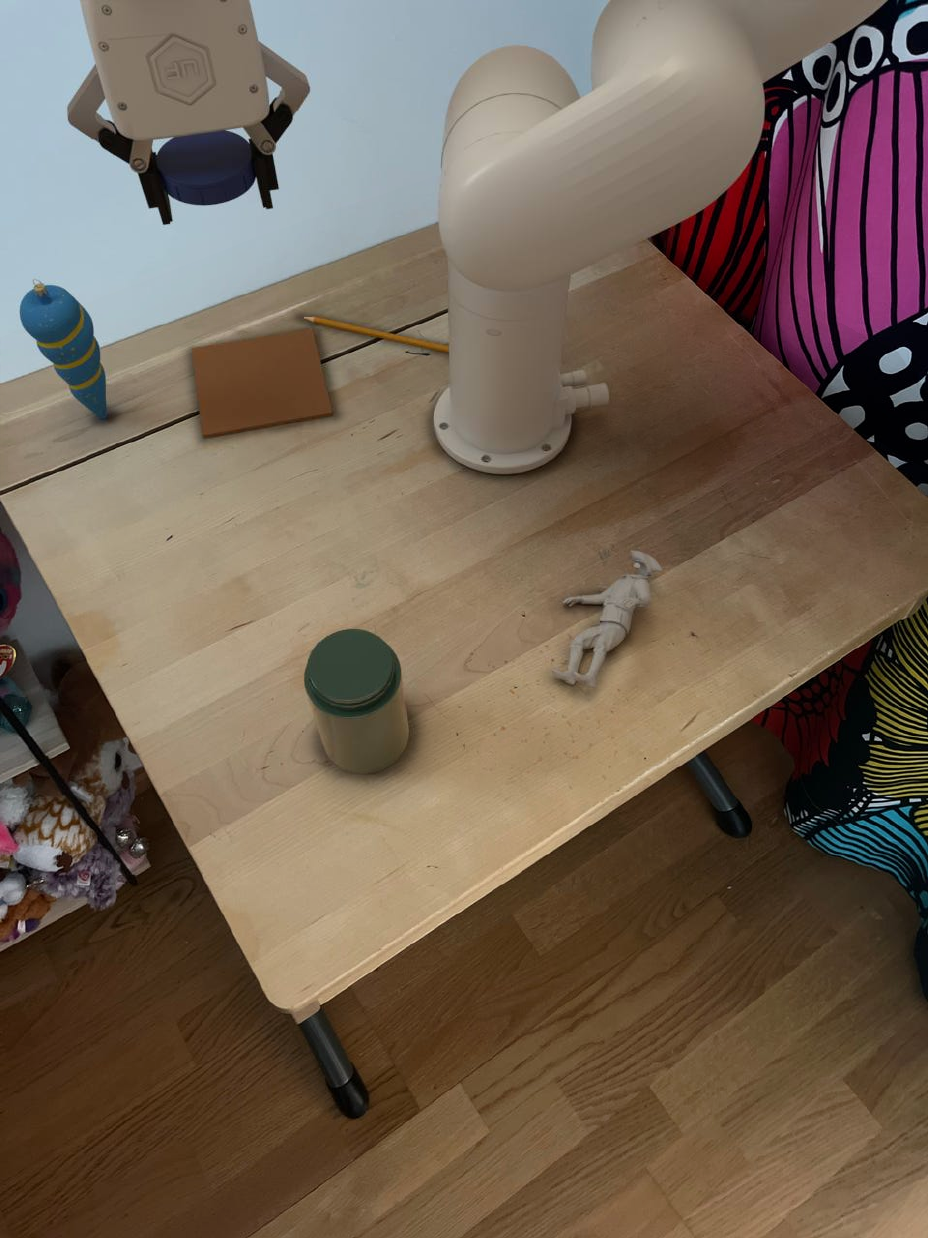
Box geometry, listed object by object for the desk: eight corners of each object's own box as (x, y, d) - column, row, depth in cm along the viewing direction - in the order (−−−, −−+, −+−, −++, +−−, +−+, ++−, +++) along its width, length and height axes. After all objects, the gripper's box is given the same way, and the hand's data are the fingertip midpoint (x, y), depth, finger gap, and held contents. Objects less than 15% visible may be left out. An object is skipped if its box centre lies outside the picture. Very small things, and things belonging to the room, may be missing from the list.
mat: (313, 331, 92) (312, 328, 91) (332, 415, 85) (332, 412, 85) (192, 351, 90) (191, 348, 90) (203, 438, 84) (202, 435, 83)
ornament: (116, 441, 84) (53, 305, 71) (63, 433, 84) (-8, 296, 72) (138, 401, 86) (81, 263, 74) (87, 394, 87) (22, 256, 74)
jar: (399, 687, 70) (389, 613, 61) (417, 763, 66) (409, 695, 58) (315, 706, 69) (293, 633, 60) (330, 783, 65) (308, 718, 57)
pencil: (480, 357, 90) (480, 351, 89) (478, 362, 89) (478, 355, 89) (302, 317, 93) (301, 311, 92) (300, 322, 93) (298, 315, 92)
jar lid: (249, 144, 67) (245, 122, 66) (263, 197, 64) (259, 176, 62) (157, 157, 66) (151, 135, 65) (167, 212, 63) (160, 190, 61)
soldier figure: (525, 669, 72) (583, 535, 74) (568, 694, 74) (622, 563, 76) (590, 680, 65) (650, 532, 67) (635, 707, 67) (691, 563, 70)
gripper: (-15, -38, 49) (98, 255, 64) (307, -74, 51) (342, 217, 66) (-13, -95, 53) (93, 194, 68) (287, -126, 55) (324, 160, 70)
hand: (216, 203), depth 67 cm, fingers closed on jar lid, 6 cm apart
